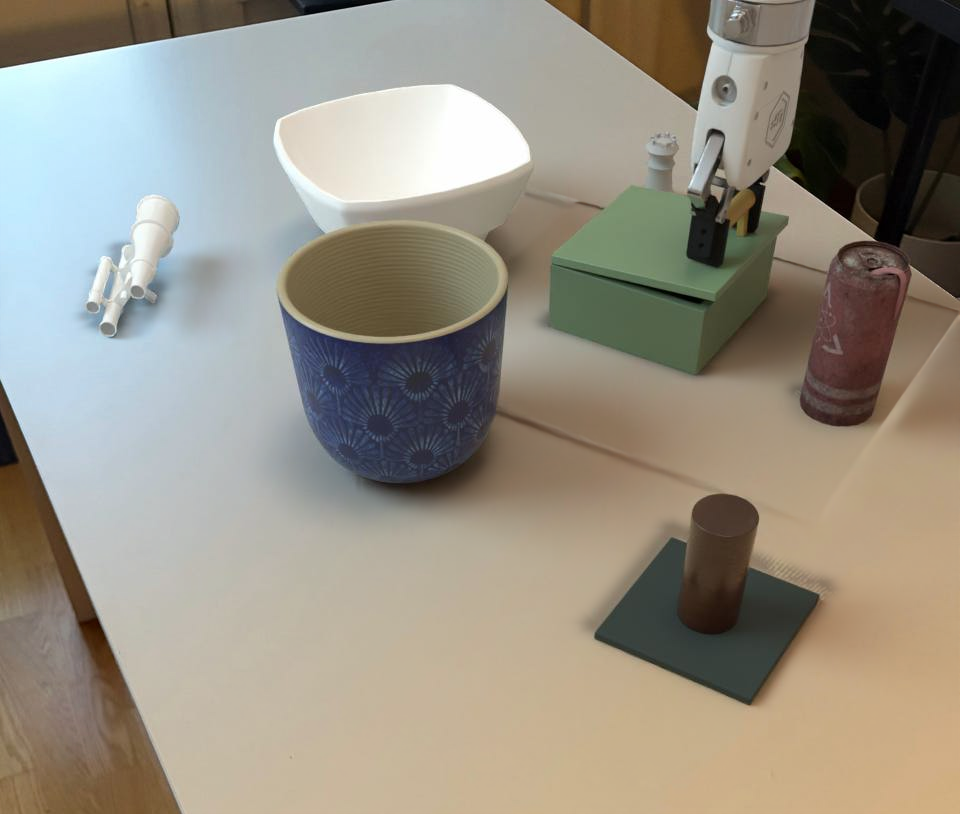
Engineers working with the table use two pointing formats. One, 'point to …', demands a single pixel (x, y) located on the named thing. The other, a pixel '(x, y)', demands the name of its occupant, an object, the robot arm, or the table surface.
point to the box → (655, 314)
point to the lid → (665, 243)
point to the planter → (396, 344)
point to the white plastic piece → (135, 261)
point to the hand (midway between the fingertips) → (722, 242)
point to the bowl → (405, 159)
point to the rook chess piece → (661, 162)
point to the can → (855, 332)
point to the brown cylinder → (717, 562)
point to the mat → (708, 657)
